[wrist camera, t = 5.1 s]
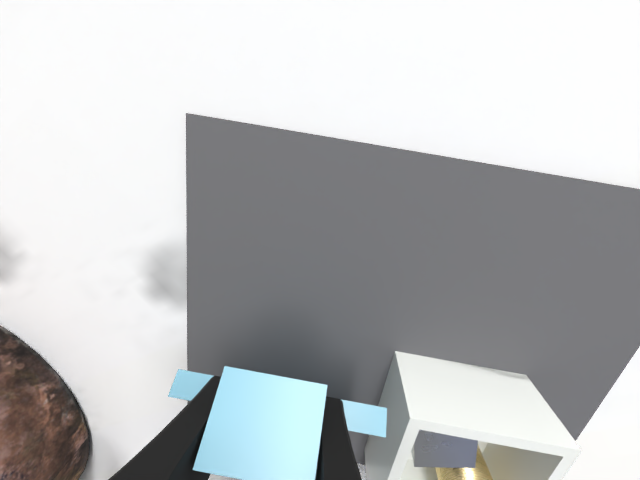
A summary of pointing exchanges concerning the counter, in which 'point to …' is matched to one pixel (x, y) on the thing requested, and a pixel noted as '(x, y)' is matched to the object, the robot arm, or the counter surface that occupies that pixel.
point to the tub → (468, 421)
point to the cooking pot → (37, 418)
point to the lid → (267, 424)
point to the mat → (403, 266)
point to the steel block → (443, 451)
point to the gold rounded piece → (466, 471)
